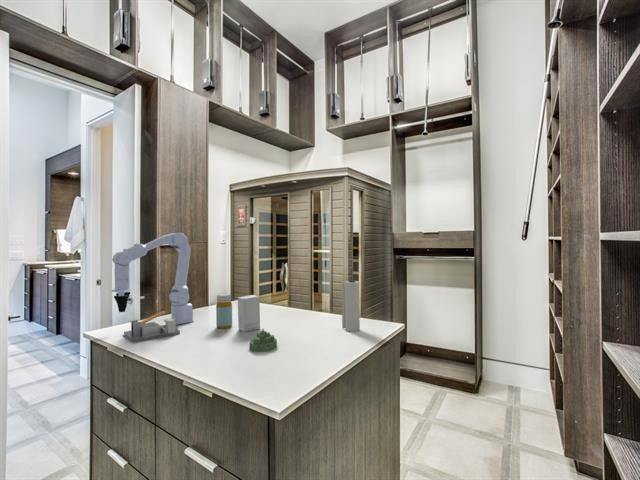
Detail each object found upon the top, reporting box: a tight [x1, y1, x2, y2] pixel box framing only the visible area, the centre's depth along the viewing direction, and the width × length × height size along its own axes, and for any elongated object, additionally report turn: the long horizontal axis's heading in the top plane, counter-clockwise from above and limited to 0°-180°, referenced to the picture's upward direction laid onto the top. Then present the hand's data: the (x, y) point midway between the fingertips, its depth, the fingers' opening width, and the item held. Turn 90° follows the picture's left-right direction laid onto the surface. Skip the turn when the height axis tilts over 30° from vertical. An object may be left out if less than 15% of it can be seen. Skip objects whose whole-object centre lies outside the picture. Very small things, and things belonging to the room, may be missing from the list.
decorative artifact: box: [249, 328, 278, 353], centre depth 122 cm, size 10×7×10 cm
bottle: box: [215, 293, 233, 330], centre depth 153 cm, size 7×7×15 cm
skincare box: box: [237, 294, 261, 333], centre depth 148 cm, size 8×6×15 cm
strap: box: [140, 310, 167, 325], centre depth 142 cm, size 13×2×1 cm, turn 132°
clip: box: [163, 318, 177, 333], centre depth 142 cm, size 3×6×5 cm, turn 42°
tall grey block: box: [341, 280, 361, 333], centre depth 145 cm, size 7×6×21 cm
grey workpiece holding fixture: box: [123, 319, 181, 343], centre depth 142 cm, size 18×16×6 cm
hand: (122, 310), depth 144 cm, fingers open, 7 cm apart
